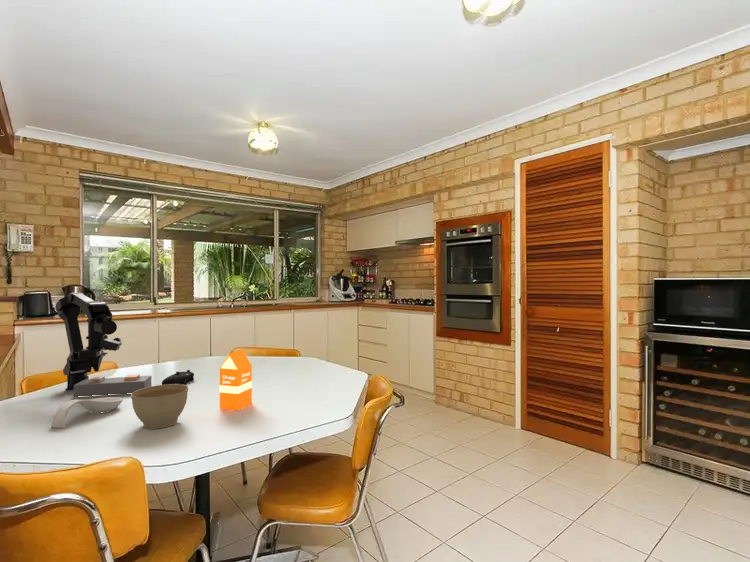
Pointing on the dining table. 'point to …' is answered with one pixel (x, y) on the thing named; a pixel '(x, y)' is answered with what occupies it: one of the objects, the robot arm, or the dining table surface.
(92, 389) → the key housing
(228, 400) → the orange juice
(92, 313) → the robot arm
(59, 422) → the spoon rest
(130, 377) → the terracotta key
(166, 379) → the gaming controller
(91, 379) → the ash key
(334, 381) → the dining table surface
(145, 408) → the planter bowl
